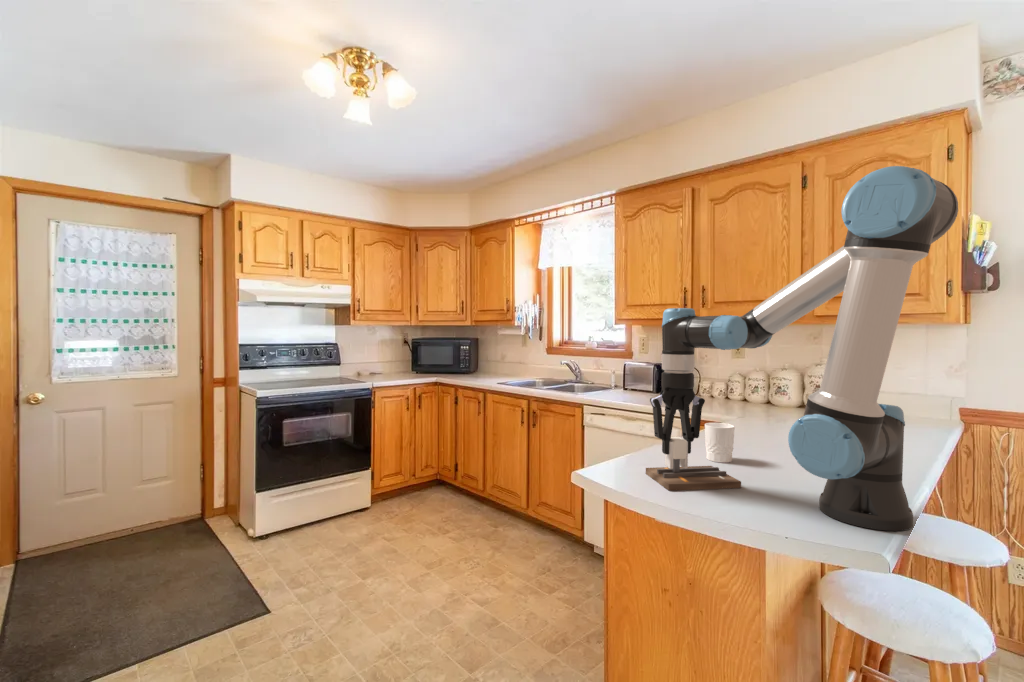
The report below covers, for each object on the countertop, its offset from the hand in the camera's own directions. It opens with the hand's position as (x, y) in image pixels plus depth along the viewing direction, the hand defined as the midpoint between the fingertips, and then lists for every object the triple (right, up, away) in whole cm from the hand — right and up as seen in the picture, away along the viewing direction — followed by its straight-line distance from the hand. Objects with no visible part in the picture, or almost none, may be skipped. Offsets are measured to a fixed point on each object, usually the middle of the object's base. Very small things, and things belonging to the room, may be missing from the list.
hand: (676, 466), depth 117 cm
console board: (+4, -4, +1) cm, 5 cm away
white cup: (+19, -3, +20) cm, 28 cm away
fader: (0, -2, 0) cm, 2 cm away
